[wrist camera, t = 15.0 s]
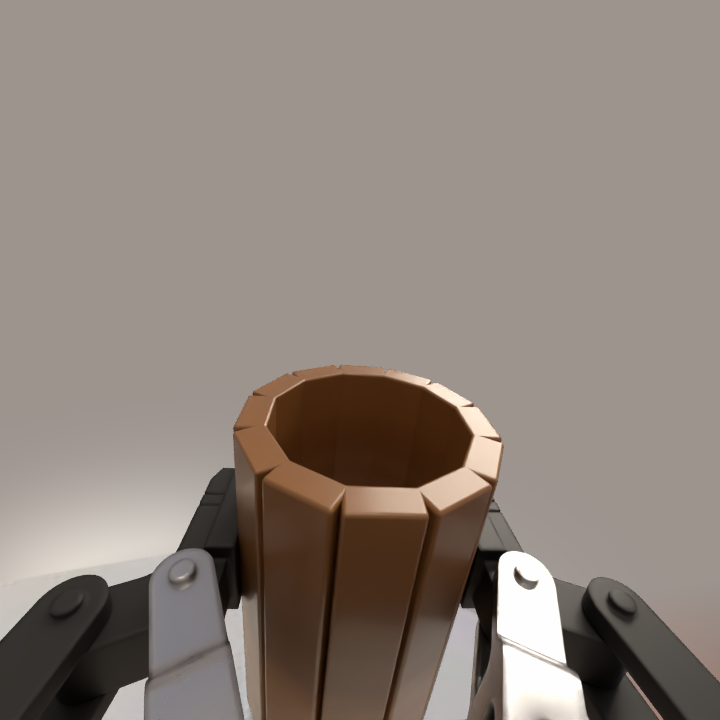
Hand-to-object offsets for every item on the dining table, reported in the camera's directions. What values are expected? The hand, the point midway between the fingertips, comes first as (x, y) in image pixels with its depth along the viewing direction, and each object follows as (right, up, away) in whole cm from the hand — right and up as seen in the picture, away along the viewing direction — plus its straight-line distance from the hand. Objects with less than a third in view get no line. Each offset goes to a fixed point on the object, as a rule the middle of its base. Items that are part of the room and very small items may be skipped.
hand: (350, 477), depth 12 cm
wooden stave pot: (0, -6, 0) cm, 6 cm away
